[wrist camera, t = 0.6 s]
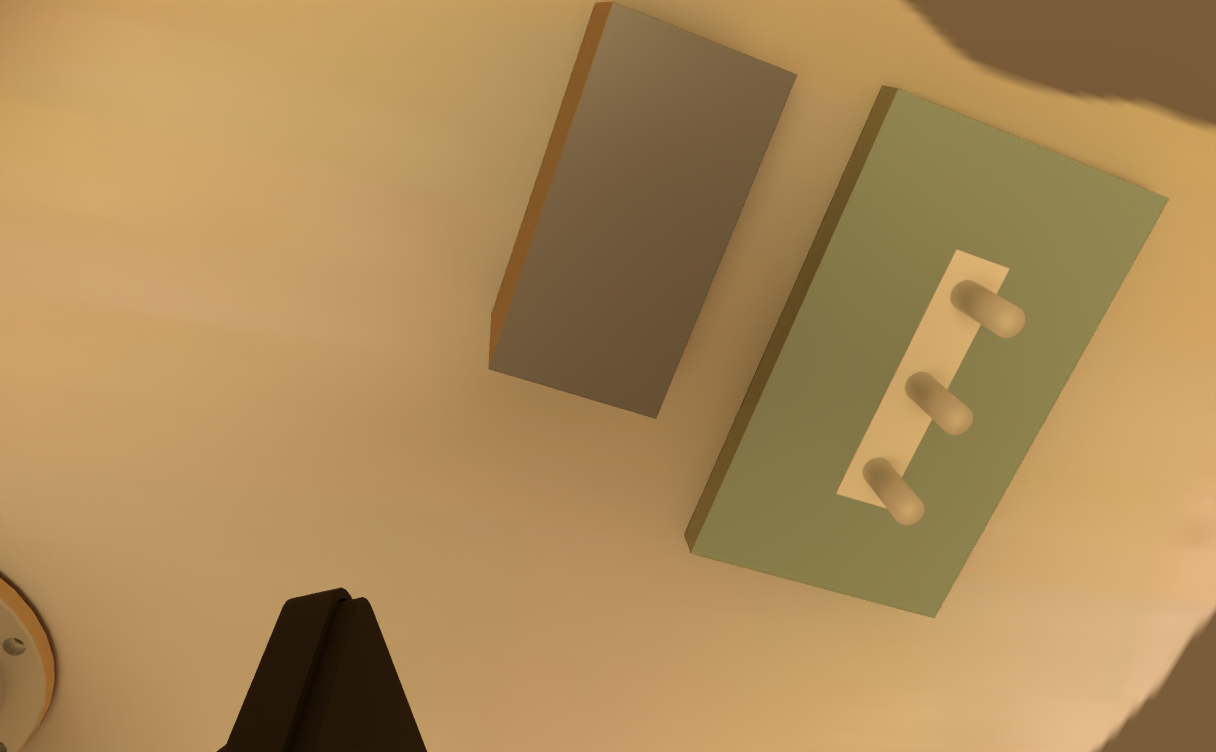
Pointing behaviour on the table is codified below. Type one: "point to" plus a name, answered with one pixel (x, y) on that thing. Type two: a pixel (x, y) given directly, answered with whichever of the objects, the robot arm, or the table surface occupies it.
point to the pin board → (917, 355)
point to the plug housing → (632, 208)
